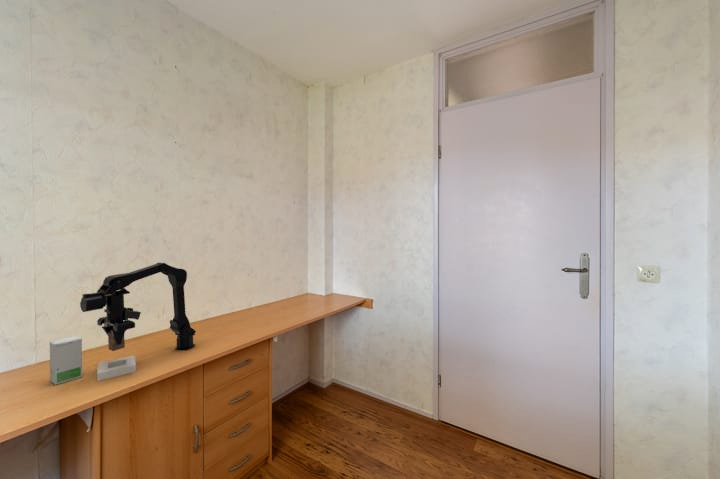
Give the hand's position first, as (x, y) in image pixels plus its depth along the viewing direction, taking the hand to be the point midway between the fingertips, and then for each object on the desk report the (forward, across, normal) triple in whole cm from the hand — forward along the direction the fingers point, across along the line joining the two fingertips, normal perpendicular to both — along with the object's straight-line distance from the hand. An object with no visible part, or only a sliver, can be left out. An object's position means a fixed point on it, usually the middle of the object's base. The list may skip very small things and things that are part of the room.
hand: (116, 343), depth 124 cm
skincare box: (+12, +10, +13) cm, 20 cm away
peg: (+2, 0, 0) cm, 2 cm away
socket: (+12, 0, 0) cm, 12 cm away
